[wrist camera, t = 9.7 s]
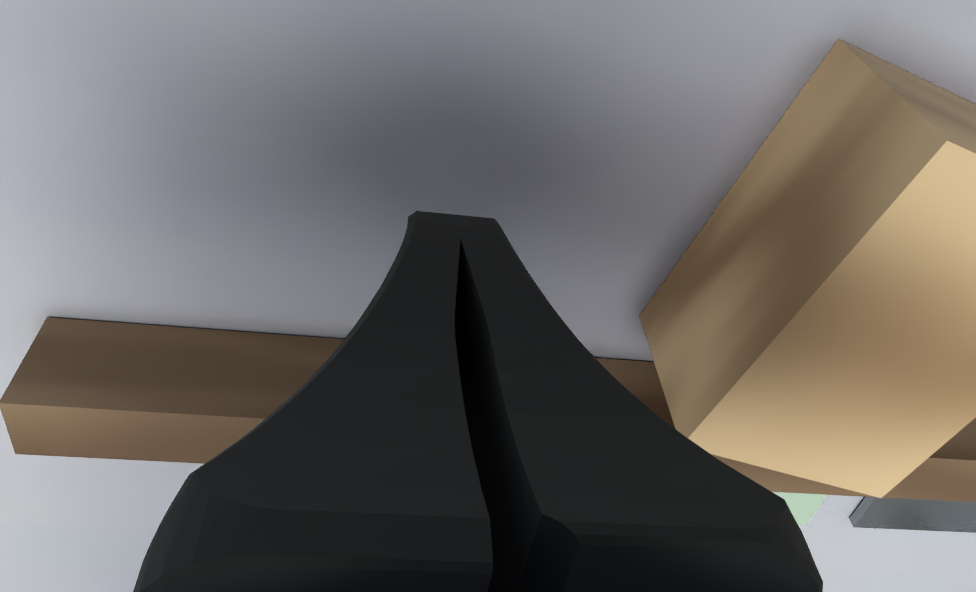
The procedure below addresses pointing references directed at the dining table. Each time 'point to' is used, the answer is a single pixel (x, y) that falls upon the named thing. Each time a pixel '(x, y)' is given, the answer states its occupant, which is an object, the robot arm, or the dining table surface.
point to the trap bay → (915, 514)
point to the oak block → (833, 286)
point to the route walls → (273, 400)
